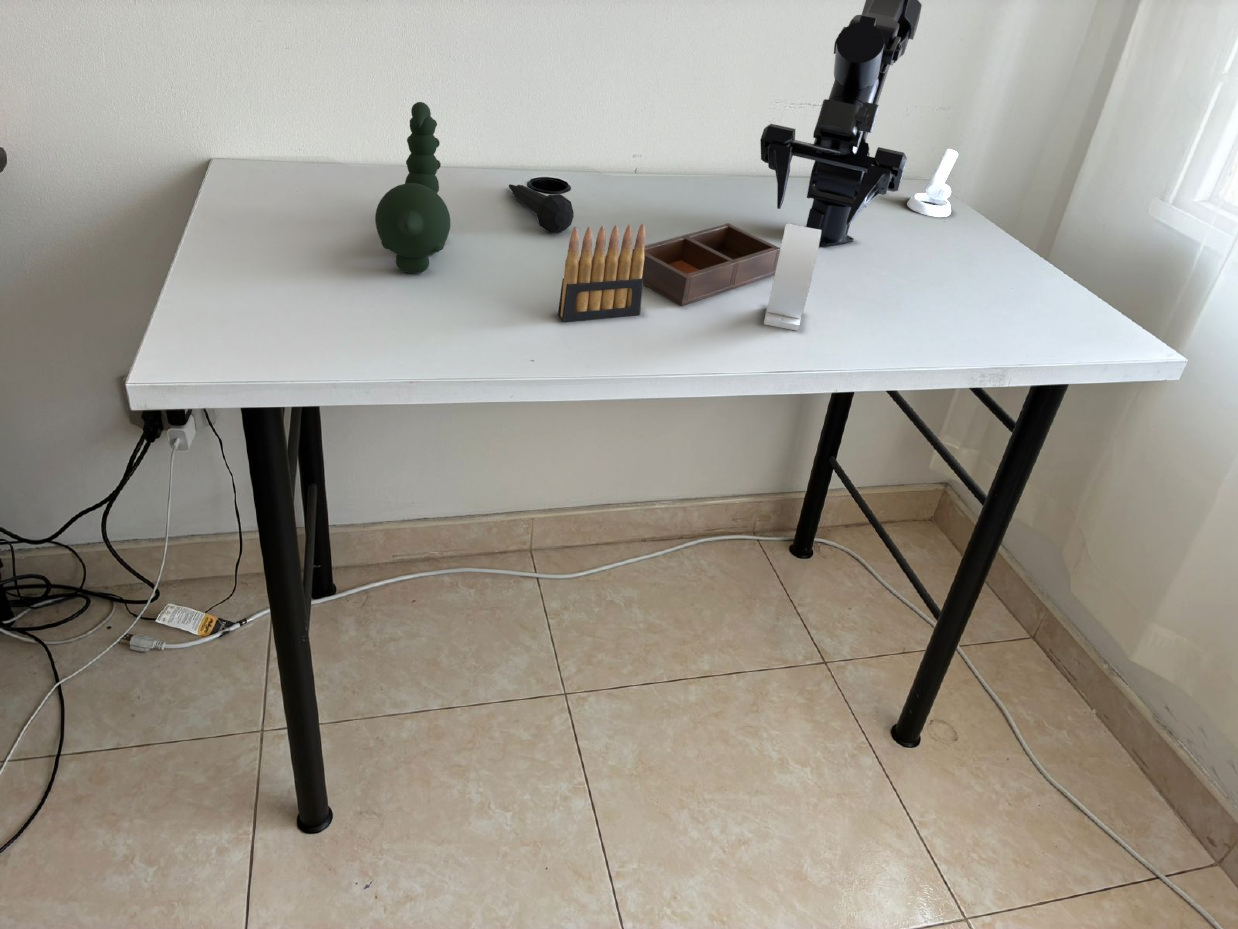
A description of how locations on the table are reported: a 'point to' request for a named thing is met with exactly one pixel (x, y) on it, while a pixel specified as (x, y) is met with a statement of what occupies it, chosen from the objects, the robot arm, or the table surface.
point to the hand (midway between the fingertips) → (812, 215)
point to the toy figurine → (415, 201)
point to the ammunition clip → (602, 277)
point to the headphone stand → (792, 276)
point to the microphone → (546, 208)
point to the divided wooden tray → (707, 263)
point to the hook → (936, 190)
